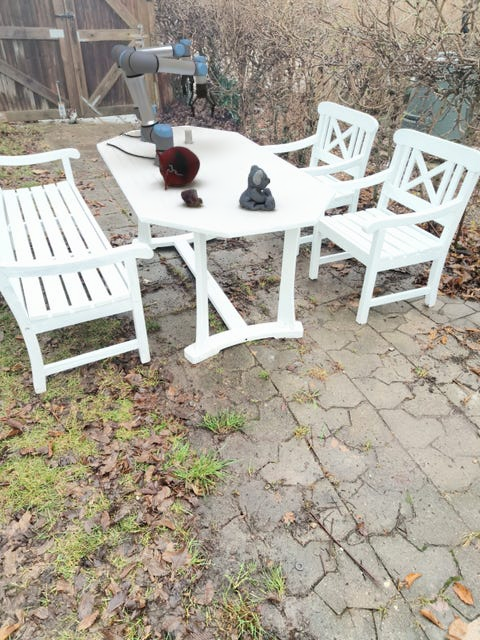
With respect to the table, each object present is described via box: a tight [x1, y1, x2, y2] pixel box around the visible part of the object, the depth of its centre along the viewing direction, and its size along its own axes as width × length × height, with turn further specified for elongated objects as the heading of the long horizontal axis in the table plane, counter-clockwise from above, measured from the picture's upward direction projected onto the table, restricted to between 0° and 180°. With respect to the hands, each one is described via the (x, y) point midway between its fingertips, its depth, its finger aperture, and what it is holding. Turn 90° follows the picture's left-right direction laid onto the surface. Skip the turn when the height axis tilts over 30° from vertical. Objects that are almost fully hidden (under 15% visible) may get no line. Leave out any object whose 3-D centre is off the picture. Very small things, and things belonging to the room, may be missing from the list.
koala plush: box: [238, 164, 276, 211], centre depth 224 cm, size 17×18×20 cm
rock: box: [180, 188, 204, 207], centre depth 229 cm, size 12×9×10 cm
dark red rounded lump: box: [155, 145, 201, 191], centre depth 255 cm, size 21×24×25 cm
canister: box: [184, 129, 193, 145], centre depth 339 cm, size 5×5×9 cm
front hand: (203, 117), depth 312 cm, fingers open, 13 cm apart
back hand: (188, 93), depth 357 cm, fingers open, 13 cm apart
